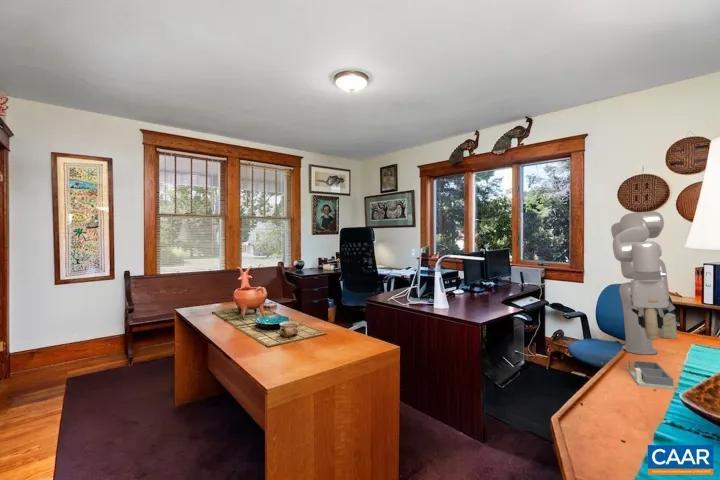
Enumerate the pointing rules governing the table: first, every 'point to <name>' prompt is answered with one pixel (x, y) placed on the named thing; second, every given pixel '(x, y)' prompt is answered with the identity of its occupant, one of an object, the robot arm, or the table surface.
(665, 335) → the skincare box
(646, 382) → the grey compartment tray
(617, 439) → the table surface
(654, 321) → the handle
